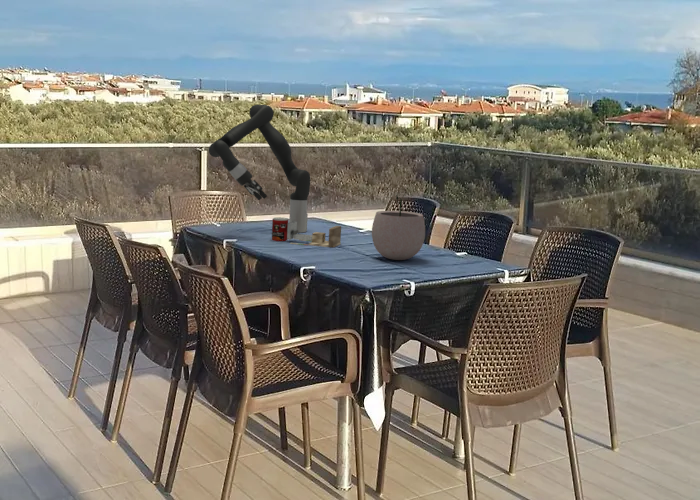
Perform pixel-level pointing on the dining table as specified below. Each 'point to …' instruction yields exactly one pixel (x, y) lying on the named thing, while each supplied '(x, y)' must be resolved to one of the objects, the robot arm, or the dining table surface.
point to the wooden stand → (319, 238)
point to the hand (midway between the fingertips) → (263, 198)
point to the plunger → (293, 232)
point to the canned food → (279, 229)
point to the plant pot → (398, 233)
